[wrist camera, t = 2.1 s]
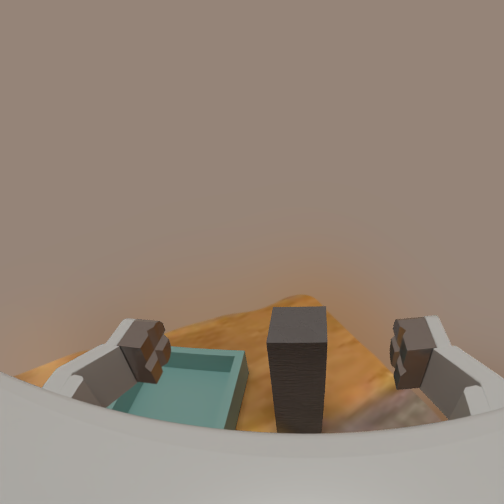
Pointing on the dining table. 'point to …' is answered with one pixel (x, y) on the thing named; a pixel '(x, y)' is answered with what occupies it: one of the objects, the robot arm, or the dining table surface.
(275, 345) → the brushed steel pillar
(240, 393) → the tray
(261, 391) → the dining table surface
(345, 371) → the dining table surface
